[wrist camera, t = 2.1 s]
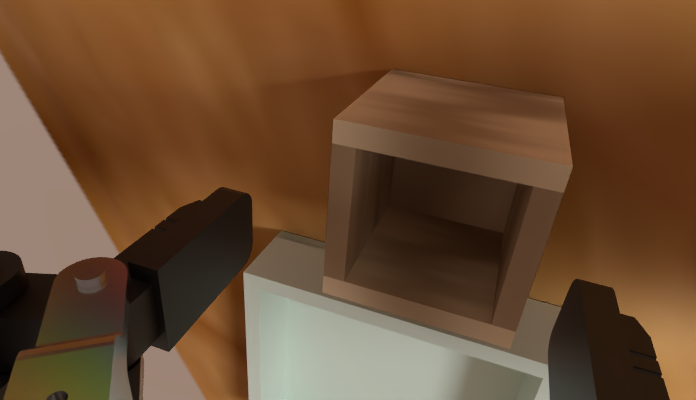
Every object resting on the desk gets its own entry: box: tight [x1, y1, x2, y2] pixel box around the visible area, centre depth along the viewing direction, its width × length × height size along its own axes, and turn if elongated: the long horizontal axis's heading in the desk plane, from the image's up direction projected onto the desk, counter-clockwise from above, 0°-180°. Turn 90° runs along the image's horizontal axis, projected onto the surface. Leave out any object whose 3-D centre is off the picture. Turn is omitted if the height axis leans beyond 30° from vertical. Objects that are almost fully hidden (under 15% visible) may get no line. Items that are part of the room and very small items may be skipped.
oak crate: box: [322, 69, 573, 349], centre depth 16 cm, size 6×6×6 cm
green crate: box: [243, 231, 562, 400], centre depth 23 cm, size 13×13×4 cm
